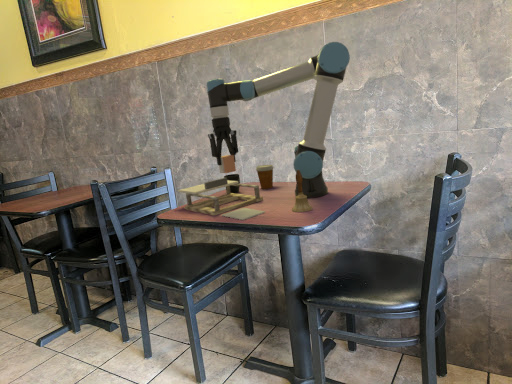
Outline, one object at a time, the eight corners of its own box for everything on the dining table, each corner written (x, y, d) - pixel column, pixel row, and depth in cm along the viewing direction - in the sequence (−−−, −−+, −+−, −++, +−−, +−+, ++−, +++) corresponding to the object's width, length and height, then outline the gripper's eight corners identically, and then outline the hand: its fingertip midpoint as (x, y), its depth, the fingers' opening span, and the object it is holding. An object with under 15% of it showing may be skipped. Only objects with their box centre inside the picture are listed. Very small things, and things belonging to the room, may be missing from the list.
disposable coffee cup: (254, 189, 200) (252, 167, 198) (264, 185, 208) (262, 164, 206) (269, 189, 195) (266, 167, 192) (278, 185, 202) (276, 164, 200)
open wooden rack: (263, 199, 173) (261, 184, 172) (214, 215, 156) (211, 198, 154) (232, 195, 191) (230, 182, 190) (185, 209, 174) (182, 194, 172)
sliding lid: (238, 183, 182) (237, 175, 181) (195, 194, 166) (193, 185, 166) (220, 181, 193) (219, 174, 193) (178, 192, 178) (177, 184, 177)
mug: (243, 189, 206) (241, 172, 204) (240, 193, 194) (237, 175, 193) (229, 190, 207) (226, 173, 205) (224, 195, 196) (222, 177, 194)
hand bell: (311, 211, 143) (307, 171, 140) (290, 212, 145) (285, 172, 142) (314, 206, 151) (310, 167, 148) (293, 207, 153) (290, 169, 150)
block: (235, 171, 162) (233, 155, 160) (226, 173, 159) (224, 157, 157) (229, 170, 165) (227, 155, 164) (220, 172, 162) (217, 156, 161)
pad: (265, 212, 150) (265, 211, 150) (242, 220, 143) (242, 219, 143) (243, 208, 161) (243, 207, 161) (221, 216, 153) (221, 214, 153)
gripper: (232, 115, 166) (239, 167, 170) (197, 120, 155) (205, 174, 159) (242, 114, 160) (249, 167, 164) (206, 118, 149) (215, 175, 154)
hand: (227, 171), depth 162 cm, fingers closed on block, 5 cm apart
